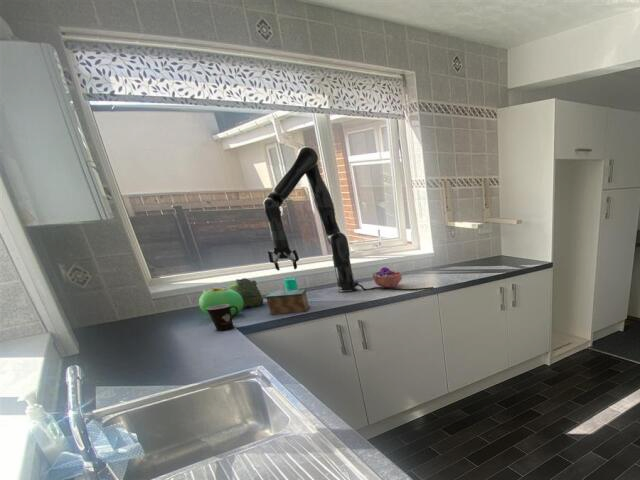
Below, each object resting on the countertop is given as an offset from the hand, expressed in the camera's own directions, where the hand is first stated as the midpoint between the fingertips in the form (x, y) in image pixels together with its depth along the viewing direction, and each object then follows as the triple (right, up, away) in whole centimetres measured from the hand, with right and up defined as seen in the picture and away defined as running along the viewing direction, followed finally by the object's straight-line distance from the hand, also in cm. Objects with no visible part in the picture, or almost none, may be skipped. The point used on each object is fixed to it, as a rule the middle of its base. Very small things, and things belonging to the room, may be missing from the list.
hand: (287, 269), depth 231 cm
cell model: (+49, -4, +25) cm, 55 cm away
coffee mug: (-3, -38, -42) cm, 57 cm away
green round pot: (-16, -30, -25) cm, 42 cm away
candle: (0, -14, +7) cm, 16 cm away
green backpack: (-17, -23, -10) cm, 30 cm away
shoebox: (+11, -25, -18) cm, 33 cm away
